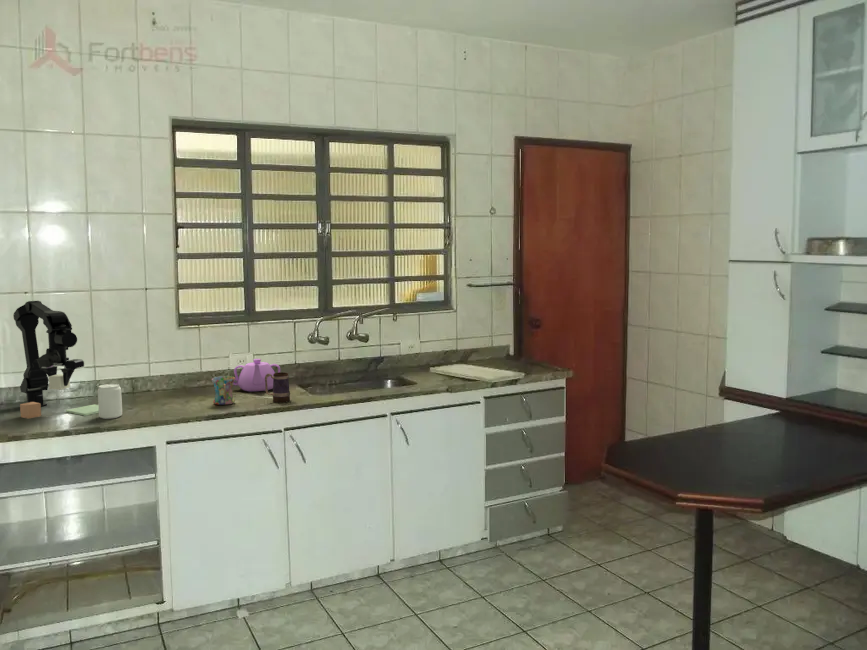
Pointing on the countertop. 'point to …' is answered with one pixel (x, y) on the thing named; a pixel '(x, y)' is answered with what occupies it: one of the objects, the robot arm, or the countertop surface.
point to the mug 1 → (223, 390)
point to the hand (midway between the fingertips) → (59, 385)
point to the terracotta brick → (30, 410)
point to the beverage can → (109, 401)
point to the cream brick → (57, 382)
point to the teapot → (255, 376)
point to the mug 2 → (279, 387)
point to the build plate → (85, 410)
